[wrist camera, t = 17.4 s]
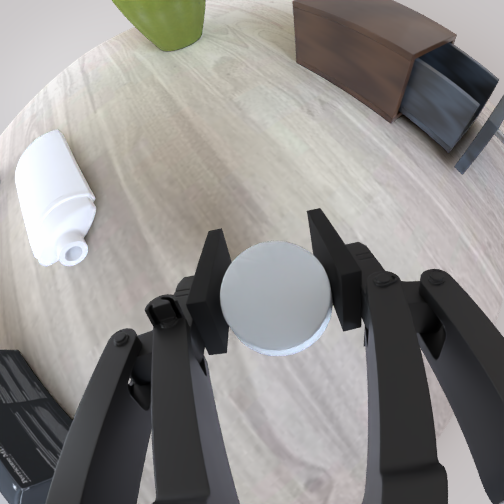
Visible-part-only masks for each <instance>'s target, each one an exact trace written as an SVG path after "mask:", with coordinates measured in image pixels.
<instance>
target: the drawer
mask: <svg viewBox="0 0 504 504" xmlns="http://www.w3.org/2000/svg"><path fill="white" fill-rule="evenodd" d="M414 60H415V61H414V64H413V67H412V71H411V74H410V77H409V80H408V83H407V86H406V89H405V92H404V95H403V98H402V101H401V104H400V107H399V110H398V111H400V112H401V113H402V114H404V115H405V116H406V117H407V118H409V119H410V120H411V121H413V122H414V123H415V124H416V125H417V126H419V127H420V128H421V129H422V130H423V131H425V132H426V133H427V134H428V135H429V136H431V137H432V138H433V139H434V140H435V141H436V142H437V143H438V144H440V145H441V146H442V147H443V148H444V149H445V150H446V151H447V152H448V153H449V152H450V151H451V150H452V149H453V147H454V146H455V145H456V144H457V143H458V141H459V140H460V139H461V138H462V136H463V135H464V134H465V133H466V132H467V130H468V129H469V128H470V126H471V125H472V124H473V123H474V121H475V120H476V119H477V117H478V116H479V114H480V113H481V111H482V109H483V108H484V106H485V104H486V103H487V101H488V99H489V97H490V96H491V94H492V92H493V90H494V88H495V87H496V85H497V83H498V81H499V79H498V78H497V77H496V76H494V75H493V74H492V73H491V72H490V71H488V70H487V69H486V68H485V67H483V66H482V65H481V64H480V63H478V62H477V61H476V60H474V59H473V58H472V57H470V56H469V55H468V54H466V53H465V52H464V51H462V50H461V49H459V48H458V47H456V46H455V45H453V44H452V43H450V42H449V43H446V44H444V45H442V46H440V47H438V48H436V49H434V50H432V51H430V52H428V53H426V54H424V55H422V56H420V57H418V58H416V59H414ZM503 120H504V95H503V97H502V99H501V100H500V102H499V103H498V105H497V106H496V108H495V109H494V111H493V112H492V114H491V115H490V117H489V118H488V120H487V121H486V123H485V124H484V126H483V127H482V129H481V130H480V132H479V133H478V134H477V136H476V137H475V139H474V140H473V142H472V143H471V144H470V146H469V147H468V149H467V150H466V151H465V153H464V154H463V155H462V157H461V158H460V159H459V161H458V162H457V163H456V165H455V166H454V167H455V168H456V169H457V170H458V171H459V172H460V173H461V174H463V173H464V172H465V171H466V170H467V169H468V167H469V166H470V165H471V164H472V163H473V161H474V160H475V159H476V158H477V156H478V155H479V154H480V152H481V151H482V150H483V149H484V147H485V146H486V145H487V143H488V142H489V141H490V139H491V138H492V137H493V135H494V134H495V135H496V136H497V137H498V138H499V139H500V140H501V141H502V143H503V144H504V134H503V133H502V132H501V131H500V130H499V129H498V128H499V127H500V125H501V123H502V121H503Z"/></svg>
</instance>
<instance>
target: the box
mask: <svg viewBox="0 0 504 504" xmlns="http://www.w3.org/2000/svg"><path fill="white" fill-rule="evenodd" d="M71 424H72V420H71V419H70V417H69V416H68V415H67V414H66V413H65V412H64V411H63V410H62V408H61V407H60V406H59V405H58V404H57V403H56V401H55V400H54V399H53V398H52V396H51V395H50V394H49V393H48V391H47V390H46V389H45V388H44V386H43V385H42V384H41V382H40V381H39V380H38V378H37V377H36V376H35V374H34V373H33V372H32V370H31V369H30V367H29V366H28V364H27V363H26V362H25V360H24V358H23V357H22V355H21V354H20V352H19V351H18V350H0V492H1V493H2V495H3V496H4V498H5V499H6V500H7V501H8V503H9V504H45V503H46V499H47V496H48V492H49V489H50V485H51V482H52V479H53V475H54V472H55V469H56V466H57V463H58V460H59V457H60V454H61V451H62V448H63V445H64V443H65V440H66V437H67V434H68V432H69V429H70V427H71Z"/></svg>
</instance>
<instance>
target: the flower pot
mask: <svg viewBox="0 0 504 504" xmlns="http://www.w3.org/2000/svg"><path fill="white" fill-rule="evenodd" d="M112 1H113V3H114V4H115V5H116V6H117V8H118V9H119V10H120V11H121V12H122V13H123V14H124V16H125V17H126V18H127V19H128V20H129V21H130V22H131V23H132V24H133V25H134V26H135V27H136V28H137V29H138V30H139V31H140V32H141V33H142V34H143V35H144V36H145V37H146V38H148V39H149V40H150V41H151V42H152V43H153V44H155V45H156V46H157V47H158V48H159V49H161V50H163V51H173V50H178V49H181V48H184V47H186V46H189V45H191V44H193V43H194V42H196V41H197V40H198V39H199V38H200V37H201V35H202V29H203V22H204V14H205V1H206V0H112Z"/></svg>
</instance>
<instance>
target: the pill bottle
mask: <svg viewBox="0 0 504 504" xmlns="http://www.w3.org/2000/svg"><path fill="white" fill-rule="evenodd" d="M220 303H221V308H222V312H223V315H224V318H225V320H226V322H227V324H228V325H229V327H230V328H231V329H232V331H233V332H234V334H235V335H236V336H237V337H238V339H239V340H240V341H241V342H242V343H243V344H245V345H246V346H247V347H249V348H250V349H252V350H254V351H256V352H258V353H260V354H264V355H269V356H287V355H292V354H295V353H298V352H300V351H302V350H304V349H306V348H308V347H309V346H311V345H312V344H313V343H314V342H315V341H317V340H318V339H319V337H320V336H321V335H322V333H323V332H324V330H325V329H326V327H327V325H328V322H329V320H330V317H331V313H332V306H333V298H332V291H331V287H330V283H329V279H328V276H327V274H326V271H325V269H324V268H323V266H322V264H321V263H320V262H319V260H318V259H317V258H316V257H315V256H314V255H313V254H311V253H310V252H309V251H308V250H306V249H305V248H303V247H300V246H298V245H296V244H293V243H289V242H285V241H268V242H263V243H259V244H257V245H254V246H252V247H250V248H248V249H247V250H245V251H243V252H242V253H241V254H240V255H238V256H237V257H236V258H235V260H234V261H233V262H232V263H231V264H230V266H229V267H228V269H227V271H226V273H225V275H224V278H223V281H222V284H221V290H220Z"/></svg>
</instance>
